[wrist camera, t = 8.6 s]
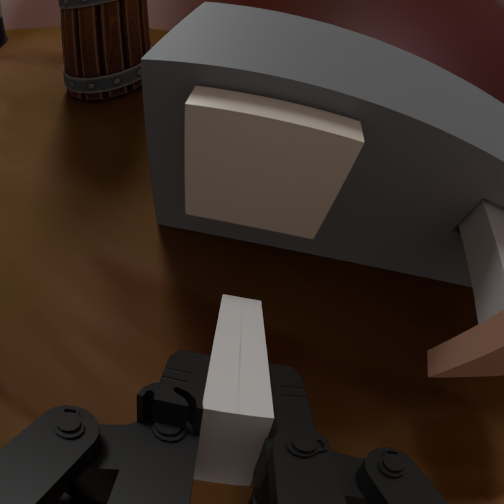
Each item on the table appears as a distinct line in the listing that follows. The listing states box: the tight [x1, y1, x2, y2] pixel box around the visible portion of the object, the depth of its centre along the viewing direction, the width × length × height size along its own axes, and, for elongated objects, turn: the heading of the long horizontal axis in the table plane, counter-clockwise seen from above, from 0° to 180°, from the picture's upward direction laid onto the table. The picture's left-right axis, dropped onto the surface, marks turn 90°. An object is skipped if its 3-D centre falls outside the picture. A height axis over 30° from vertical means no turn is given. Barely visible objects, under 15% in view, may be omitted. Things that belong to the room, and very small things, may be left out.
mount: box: [141, 2, 504, 288], centre depth 19 cm, size 11×26×12 cm, turn 82°
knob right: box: [427, 198, 504, 377], centre depth 14 cm, size 11×7×7 cm, turn 172°
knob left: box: [185, 86, 365, 239], centre depth 17 cm, size 11×7×7 cm, turn 172°
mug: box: [59, 0, 152, 101], centre depth 25 cm, size 16×11×15 cm
